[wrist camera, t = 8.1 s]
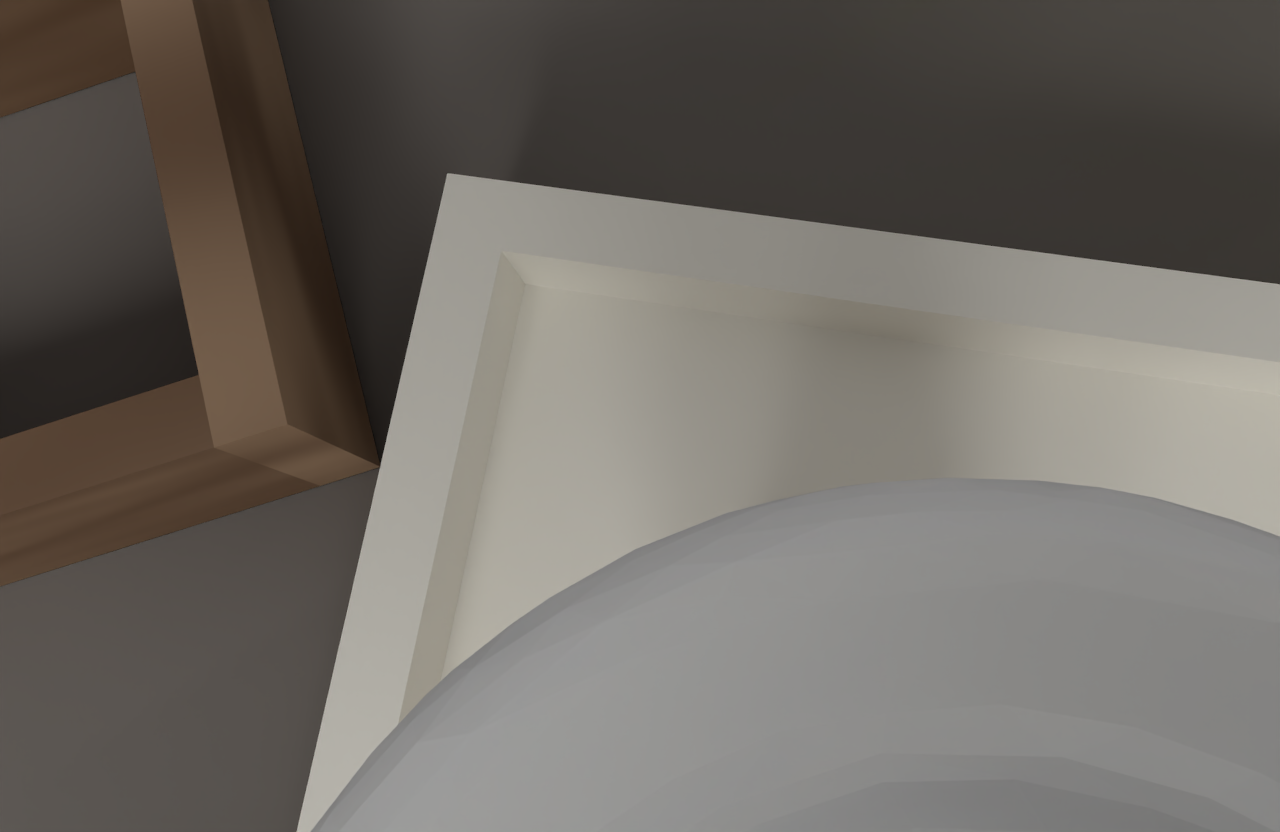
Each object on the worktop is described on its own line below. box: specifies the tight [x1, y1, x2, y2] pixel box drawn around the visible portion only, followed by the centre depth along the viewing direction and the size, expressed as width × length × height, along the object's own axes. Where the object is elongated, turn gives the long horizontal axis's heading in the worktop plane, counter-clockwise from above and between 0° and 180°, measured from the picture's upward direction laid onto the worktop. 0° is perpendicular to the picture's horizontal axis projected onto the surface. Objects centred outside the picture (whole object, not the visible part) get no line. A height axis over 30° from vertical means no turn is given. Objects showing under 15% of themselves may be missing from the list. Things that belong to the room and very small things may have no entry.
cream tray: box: [297, 173, 1280, 832], centre depth 15 cm, size 14×14×2 cm
